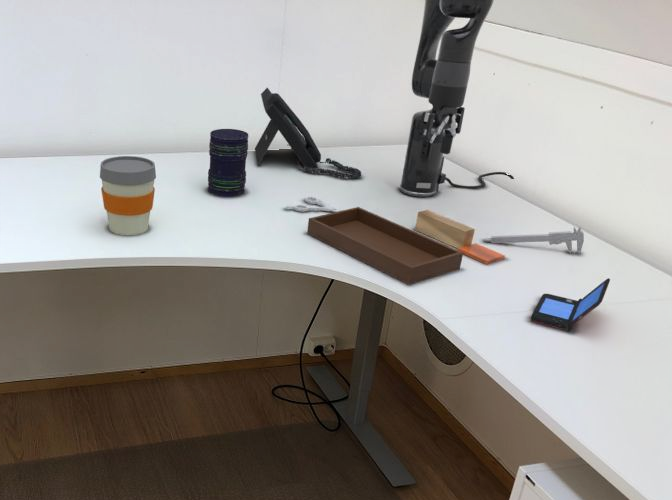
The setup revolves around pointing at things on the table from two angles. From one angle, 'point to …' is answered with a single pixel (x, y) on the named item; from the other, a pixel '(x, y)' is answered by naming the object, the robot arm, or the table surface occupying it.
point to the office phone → (294, 137)
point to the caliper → (545, 238)
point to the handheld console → (567, 308)
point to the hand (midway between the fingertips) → (434, 156)
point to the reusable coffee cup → (128, 193)
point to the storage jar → (227, 162)
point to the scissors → (306, 208)
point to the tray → (385, 245)
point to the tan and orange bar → (454, 236)
